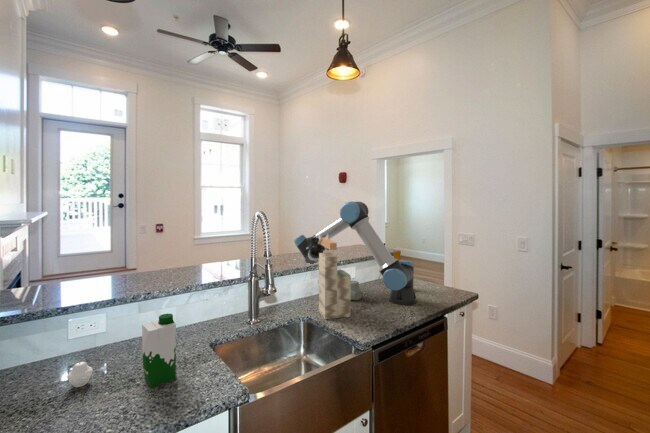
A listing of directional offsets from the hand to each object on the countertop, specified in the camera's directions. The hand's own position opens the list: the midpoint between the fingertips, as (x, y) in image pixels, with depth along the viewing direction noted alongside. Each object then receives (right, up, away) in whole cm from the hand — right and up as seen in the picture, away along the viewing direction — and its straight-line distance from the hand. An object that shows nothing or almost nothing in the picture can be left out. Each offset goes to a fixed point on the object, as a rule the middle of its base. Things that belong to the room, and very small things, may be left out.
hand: (324, 236), depth 159 cm
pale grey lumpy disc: (-76, -42, -63) cm, 107 cm away
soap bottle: (+46, -36, +40) cm, 72 cm away
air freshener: (+17, -38, +20) cm, 46 cm away
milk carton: (-53, -42, -60) cm, 90 cm away
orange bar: (+1, -5, -4) cm, 6 cm away
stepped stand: (+4, -39, -3) cm, 39 cm away
